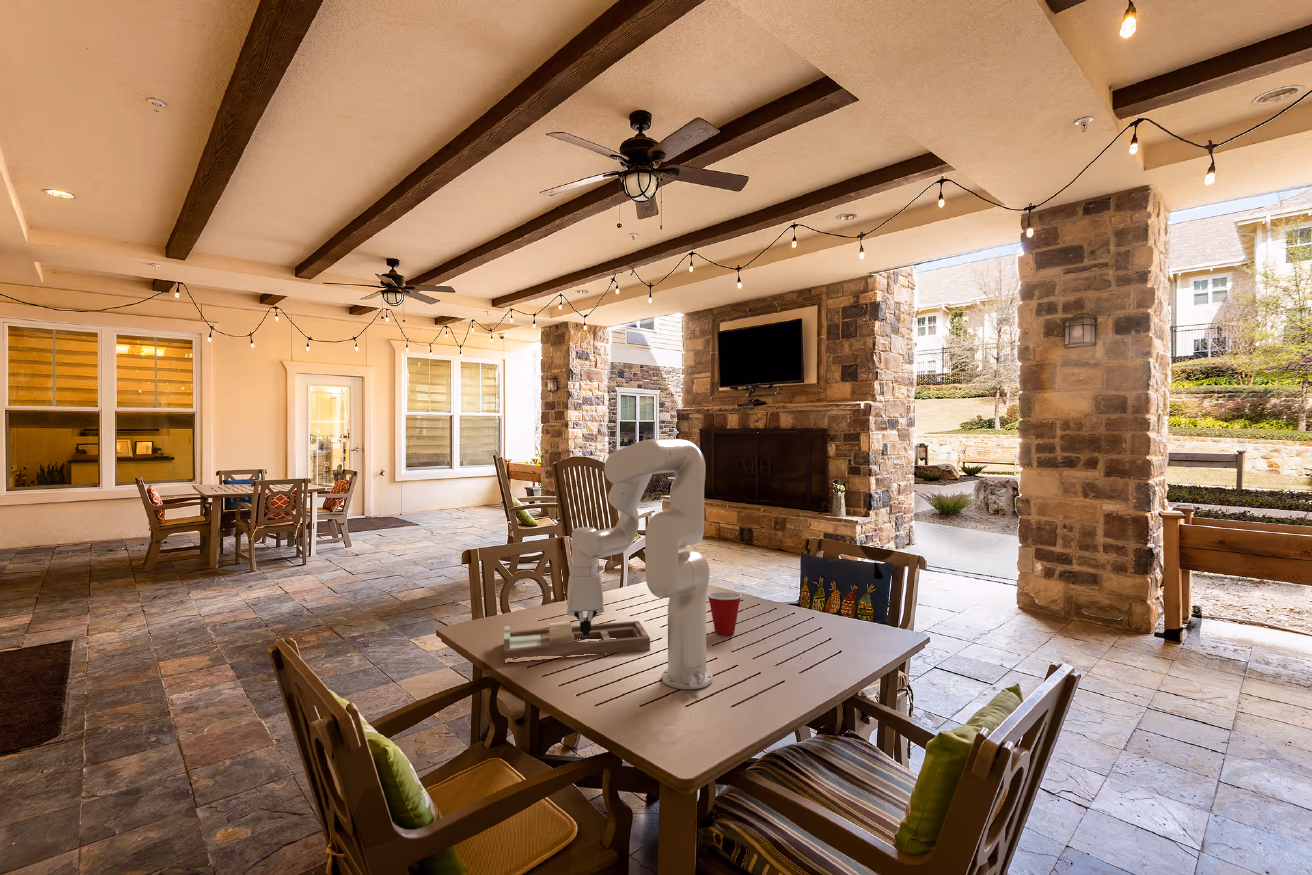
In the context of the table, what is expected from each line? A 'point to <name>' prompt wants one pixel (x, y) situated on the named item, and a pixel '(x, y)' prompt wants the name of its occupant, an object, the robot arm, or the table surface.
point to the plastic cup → (724, 611)
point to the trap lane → (538, 642)
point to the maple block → (560, 632)
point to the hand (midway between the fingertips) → (585, 633)
